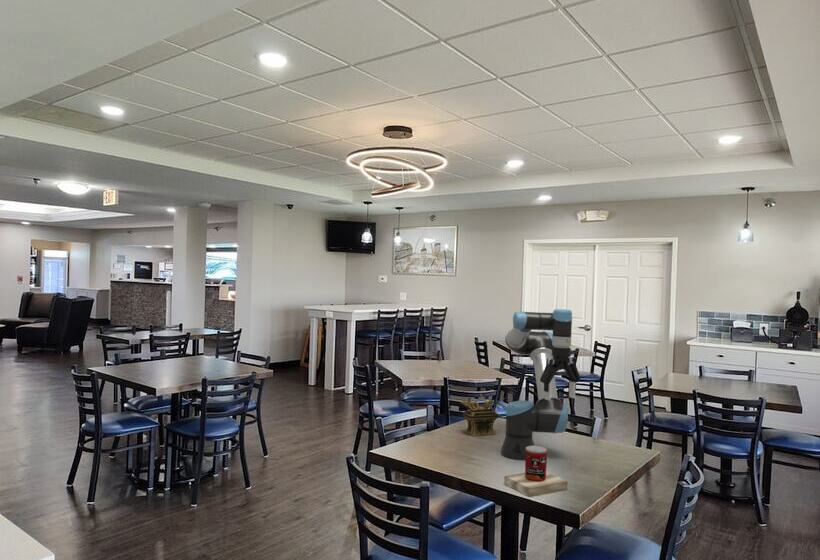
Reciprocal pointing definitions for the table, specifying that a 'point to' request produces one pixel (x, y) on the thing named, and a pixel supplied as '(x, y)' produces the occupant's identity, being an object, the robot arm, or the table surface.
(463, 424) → the table surface
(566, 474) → the table surface
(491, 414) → the decorative box
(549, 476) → the pale wooden plank
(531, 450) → the canned food
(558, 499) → the table surface
